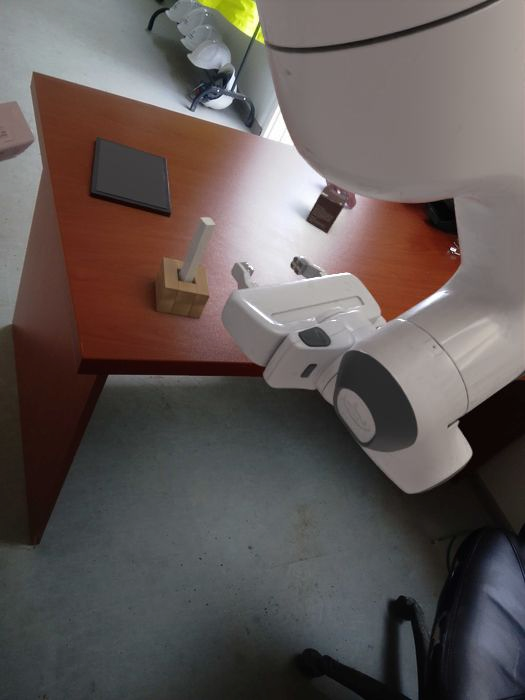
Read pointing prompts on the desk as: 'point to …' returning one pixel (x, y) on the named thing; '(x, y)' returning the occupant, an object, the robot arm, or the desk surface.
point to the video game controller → (344, 194)
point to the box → (326, 209)
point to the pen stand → (180, 290)
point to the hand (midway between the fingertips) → (268, 262)
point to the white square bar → (196, 249)
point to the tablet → (130, 177)
